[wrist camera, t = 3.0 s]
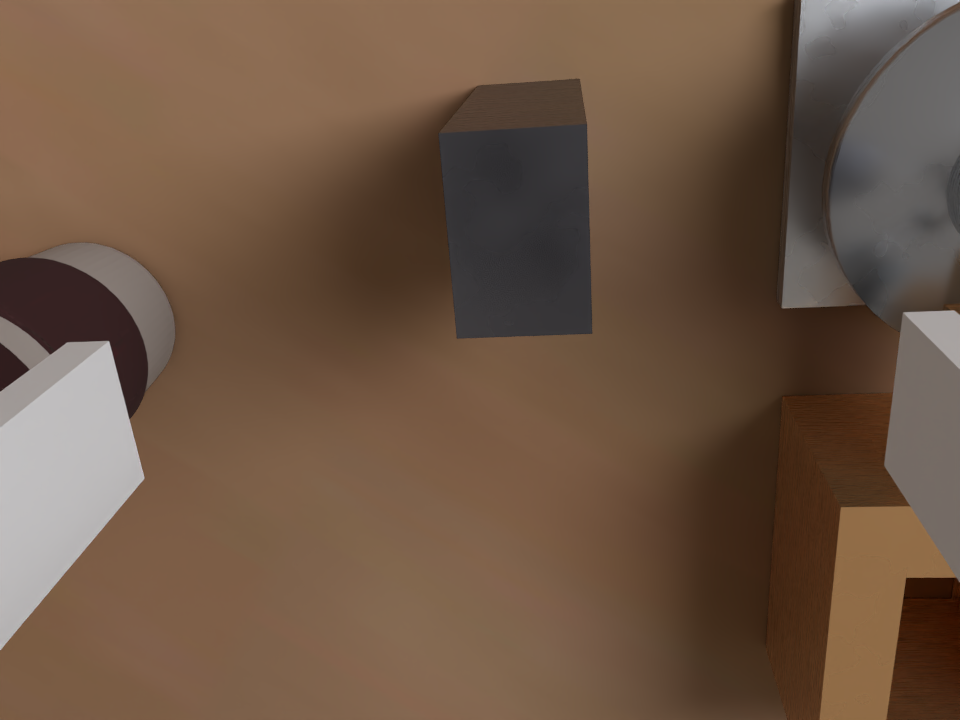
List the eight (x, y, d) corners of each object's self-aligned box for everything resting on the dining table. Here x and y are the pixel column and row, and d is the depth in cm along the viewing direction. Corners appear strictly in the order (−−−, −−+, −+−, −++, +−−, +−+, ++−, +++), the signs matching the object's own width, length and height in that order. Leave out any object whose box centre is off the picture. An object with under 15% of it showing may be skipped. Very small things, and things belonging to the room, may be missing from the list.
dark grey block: (488, 233, 37) (456, 338, 26) (478, 85, 35) (438, 133, 24) (583, 228, 37) (592, 333, 26) (579, 78, 34) (586, 123, 23)
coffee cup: (60, 434, 43) (-175, 645, 29) (-44, 245, 40) (-367, 384, 26) (242, 384, 41) (80, 586, 27) (149, 181, 38) (-89, 296, 24)
